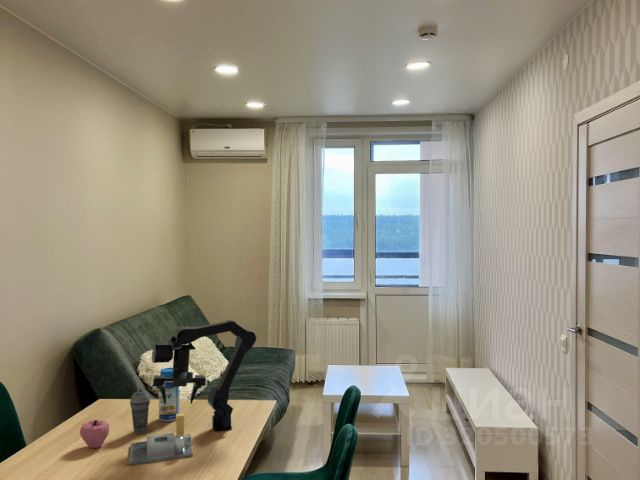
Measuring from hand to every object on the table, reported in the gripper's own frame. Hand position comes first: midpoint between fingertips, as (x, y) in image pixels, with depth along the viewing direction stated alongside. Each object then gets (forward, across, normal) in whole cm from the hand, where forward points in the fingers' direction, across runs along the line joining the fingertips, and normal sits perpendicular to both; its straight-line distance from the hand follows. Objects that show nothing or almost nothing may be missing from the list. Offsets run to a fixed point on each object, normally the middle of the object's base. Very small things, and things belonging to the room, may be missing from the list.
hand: (178, 404), depth 185 cm
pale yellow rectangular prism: (+12, +2, 0) cm, 12 cm away
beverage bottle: (+12, -3, +21) cm, 24 cm away
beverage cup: (+13, -13, +9) cm, 21 cm away
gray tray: (+13, -5, -11) cm, 18 cm away
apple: (+14, -27, 0) cm, 31 cm away
